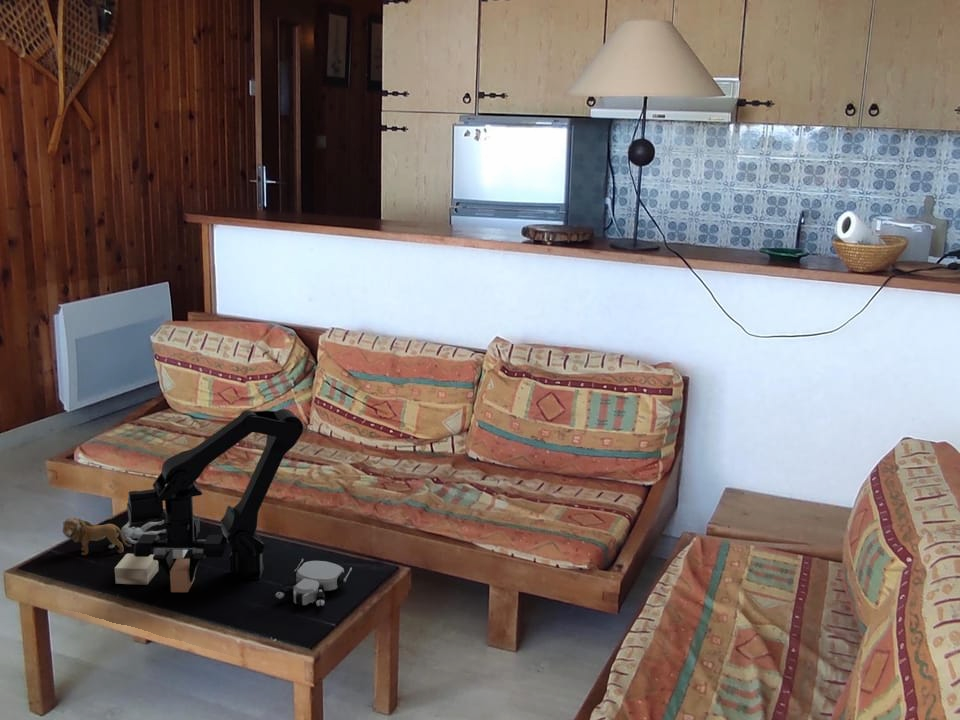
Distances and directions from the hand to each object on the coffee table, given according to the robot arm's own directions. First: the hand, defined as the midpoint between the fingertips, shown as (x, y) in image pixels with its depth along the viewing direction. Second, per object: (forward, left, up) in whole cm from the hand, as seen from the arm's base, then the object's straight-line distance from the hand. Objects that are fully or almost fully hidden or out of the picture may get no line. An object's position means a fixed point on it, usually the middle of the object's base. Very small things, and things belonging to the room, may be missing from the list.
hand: (182, 581), depth 204 cm
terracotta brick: (0, 0, -1) cm, 1 cm away
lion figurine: (+24, -16, -1) cm, 29 cm away
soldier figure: (+16, -24, -1) cm, 29 cm away
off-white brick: (+5, -16, -1) cm, 17 cm away
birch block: (+11, -4, -1) cm, 12 cm away
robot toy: (-29, +3, -1) cm, 29 cm away
